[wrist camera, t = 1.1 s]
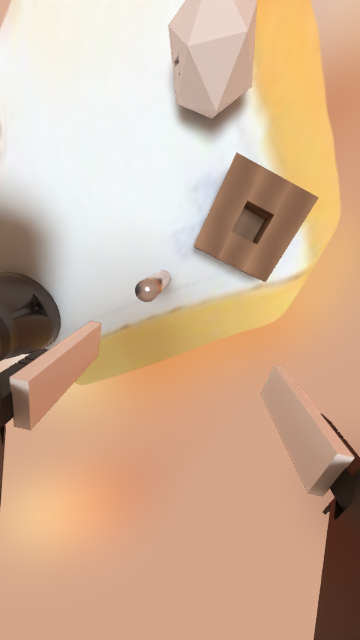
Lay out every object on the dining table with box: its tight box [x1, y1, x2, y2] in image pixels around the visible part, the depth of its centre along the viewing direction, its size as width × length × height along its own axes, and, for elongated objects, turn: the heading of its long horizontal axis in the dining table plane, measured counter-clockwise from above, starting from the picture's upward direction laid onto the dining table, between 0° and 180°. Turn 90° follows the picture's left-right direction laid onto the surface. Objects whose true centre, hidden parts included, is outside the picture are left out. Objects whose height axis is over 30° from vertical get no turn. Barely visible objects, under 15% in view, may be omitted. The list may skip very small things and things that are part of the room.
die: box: [168, 0, 257, 119], centre depth 20 cm, size 8×9×10 cm
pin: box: [135, 270, 171, 302], centre depth 27 cm, size 2×2×12 cm
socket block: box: [194, 153, 318, 282], centre depth 27 cm, size 11×11×5 cm
